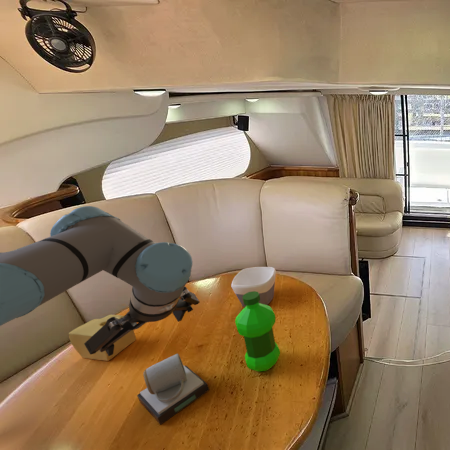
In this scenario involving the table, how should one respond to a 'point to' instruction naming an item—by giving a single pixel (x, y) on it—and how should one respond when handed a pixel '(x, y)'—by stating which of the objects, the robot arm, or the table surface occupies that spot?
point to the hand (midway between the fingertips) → (144, 332)
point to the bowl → (255, 283)
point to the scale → (168, 409)
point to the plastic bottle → (258, 333)
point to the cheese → (89, 330)
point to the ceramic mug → (165, 376)
